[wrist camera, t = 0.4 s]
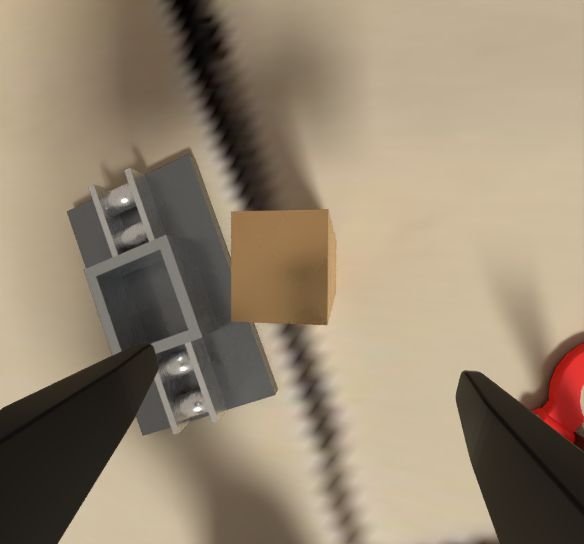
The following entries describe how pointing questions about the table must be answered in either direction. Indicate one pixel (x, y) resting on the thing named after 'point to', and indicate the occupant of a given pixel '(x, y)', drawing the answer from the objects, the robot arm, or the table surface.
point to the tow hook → (566, 397)
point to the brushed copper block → (282, 266)
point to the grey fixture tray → (170, 294)
